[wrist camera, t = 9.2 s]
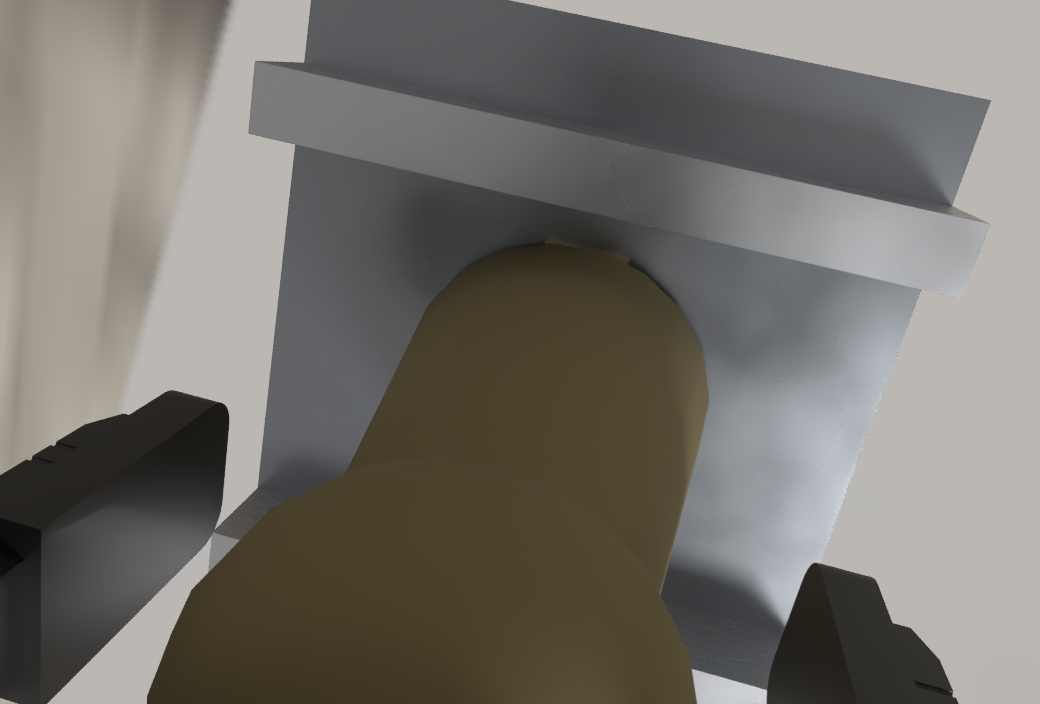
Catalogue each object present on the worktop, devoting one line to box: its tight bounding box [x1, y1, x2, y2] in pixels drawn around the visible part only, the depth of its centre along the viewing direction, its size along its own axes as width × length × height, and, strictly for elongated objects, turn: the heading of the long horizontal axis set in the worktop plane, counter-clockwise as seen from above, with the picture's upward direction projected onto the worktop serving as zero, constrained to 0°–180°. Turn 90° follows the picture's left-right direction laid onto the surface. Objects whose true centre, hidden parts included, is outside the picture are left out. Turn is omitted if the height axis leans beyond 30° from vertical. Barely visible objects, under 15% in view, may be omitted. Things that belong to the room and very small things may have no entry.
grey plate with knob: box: [208, 0, 991, 704], centre depth 18 cm, size 14×12×6 cm
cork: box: [147, 243, 709, 704], centre depth 12 cm, size 6×6×11 cm
